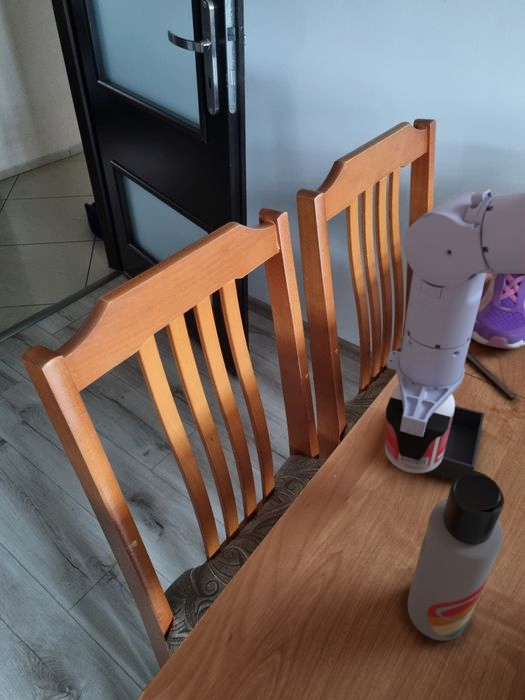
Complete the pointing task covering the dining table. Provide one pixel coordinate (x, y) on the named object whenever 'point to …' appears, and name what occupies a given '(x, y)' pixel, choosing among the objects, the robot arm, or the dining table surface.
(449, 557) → the black capped bottle
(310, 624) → the dining table surface
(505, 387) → the rod
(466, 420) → the box
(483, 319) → the running shoe
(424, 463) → the pill bottle
